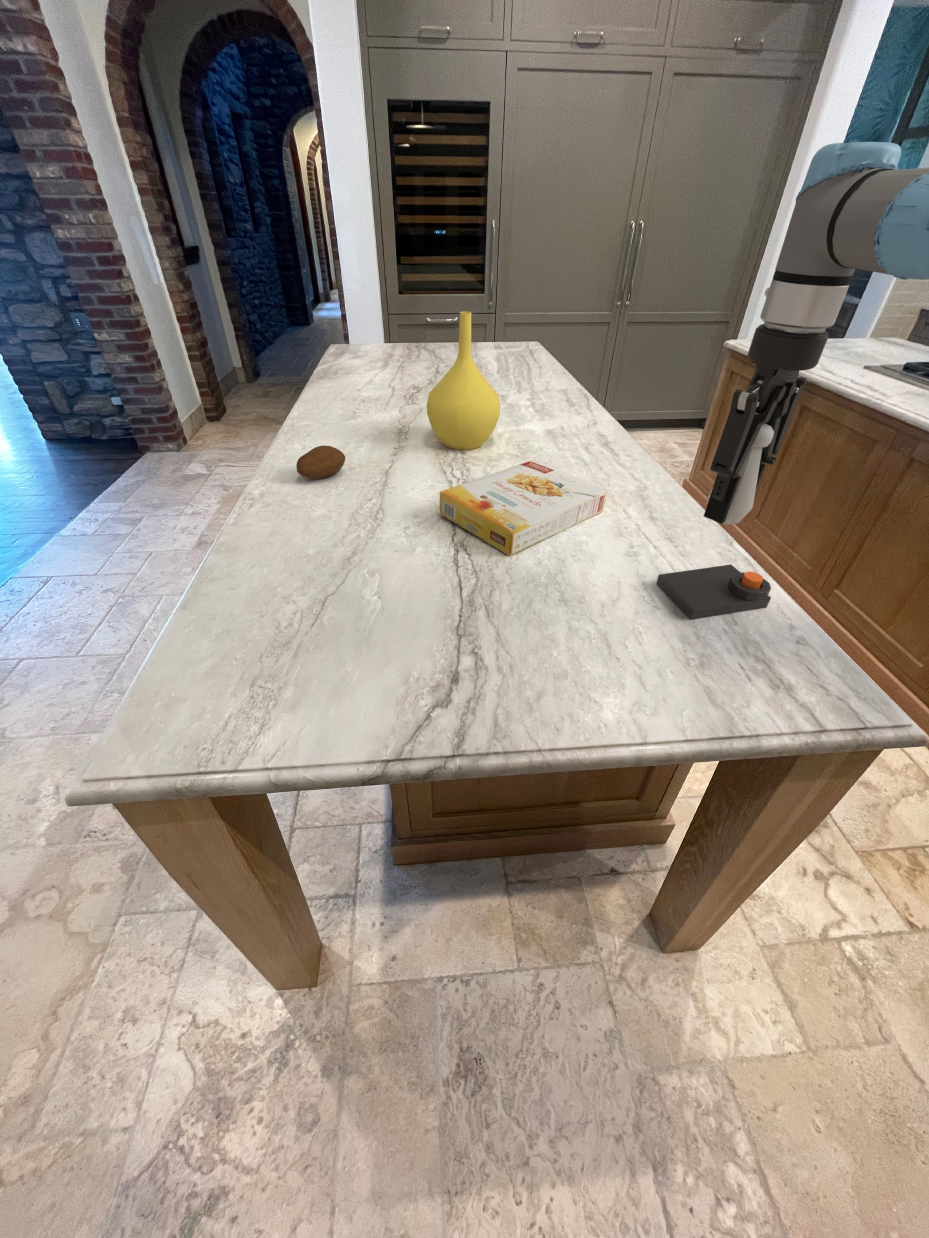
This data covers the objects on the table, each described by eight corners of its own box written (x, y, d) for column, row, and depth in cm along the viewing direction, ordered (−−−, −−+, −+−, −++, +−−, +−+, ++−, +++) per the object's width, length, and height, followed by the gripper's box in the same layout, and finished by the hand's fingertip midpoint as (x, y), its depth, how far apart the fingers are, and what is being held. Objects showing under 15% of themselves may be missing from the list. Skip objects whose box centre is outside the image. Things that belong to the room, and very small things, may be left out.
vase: (511, 442, 140) (522, 312, 122) (468, 462, 129) (473, 323, 110) (457, 426, 149) (459, 303, 130) (412, 444, 137) (407, 312, 119)
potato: (291, 480, 119) (285, 449, 114) (334, 466, 125) (330, 436, 121) (309, 489, 115) (303, 458, 111) (352, 474, 122) (348, 444, 118)
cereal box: (437, 490, 103) (534, 455, 118) (437, 516, 106) (531, 478, 122) (514, 532, 92) (610, 486, 107) (511, 559, 95) (604, 511, 110)
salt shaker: (701, 505, 78) (730, 414, 70) (743, 511, 77) (778, 419, 69) (704, 524, 73) (736, 429, 65) (748, 530, 72) (787, 434, 64)
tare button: (751, 578, 86) (755, 570, 85) (763, 588, 84) (767, 580, 83) (737, 580, 85) (740, 572, 84) (748, 590, 83) (752, 582, 82)
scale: (729, 573, 93) (736, 556, 91) (770, 608, 85) (778, 590, 83) (655, 583, 90) (661, 566, 88) (691, 621, 82) (698, 603, 80)
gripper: (798, 313, 67) (736, 486, 82) (718, 329, 58) (664, 521, 72) (862, 323, 63) (784, 504, 77) (787, 342, 53) (714, 544, 68)
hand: (726, 512), depth 75 cm, fingers closed on salt shaker, 6 cm apart
